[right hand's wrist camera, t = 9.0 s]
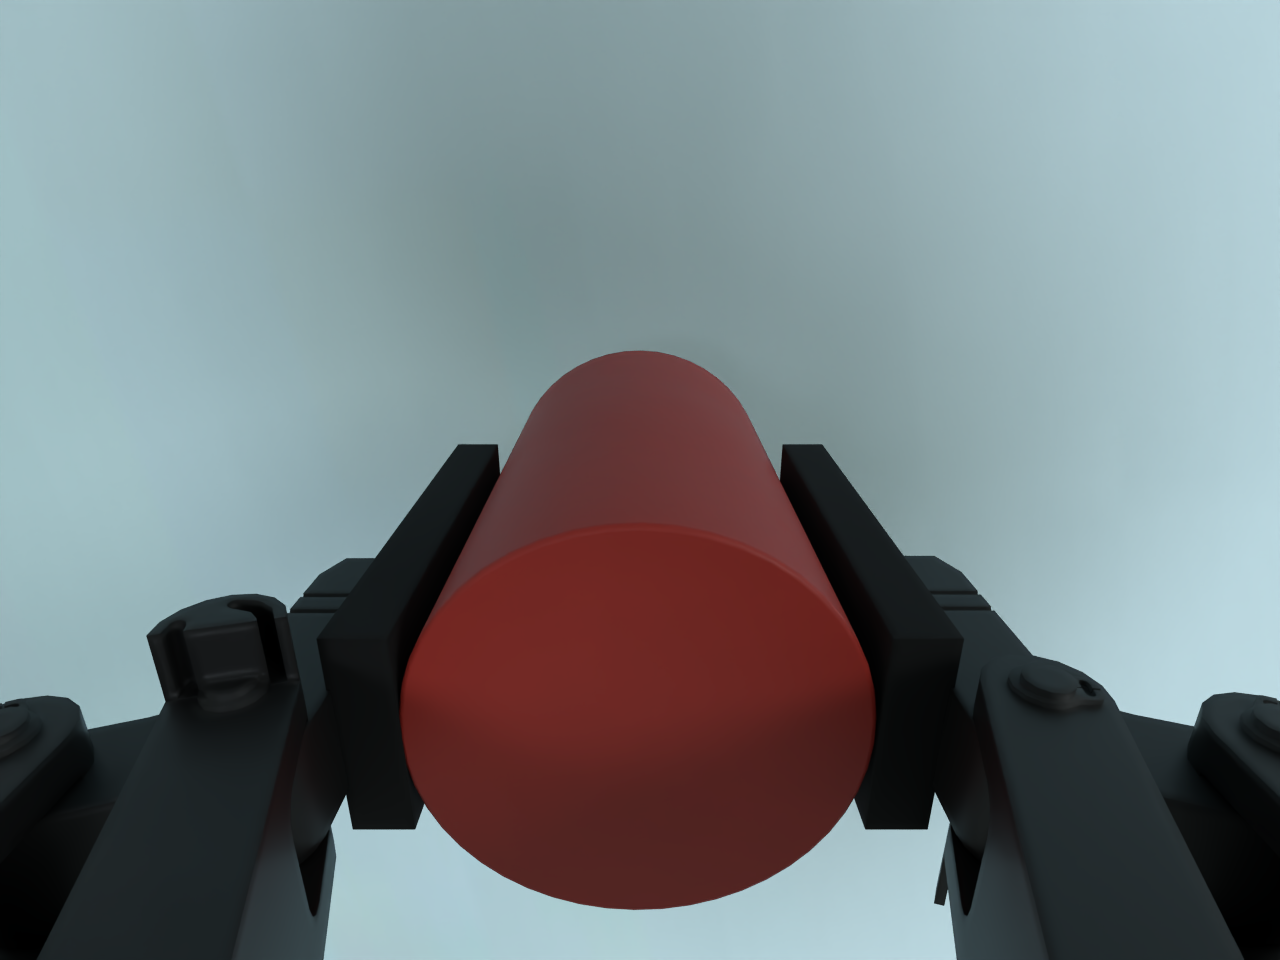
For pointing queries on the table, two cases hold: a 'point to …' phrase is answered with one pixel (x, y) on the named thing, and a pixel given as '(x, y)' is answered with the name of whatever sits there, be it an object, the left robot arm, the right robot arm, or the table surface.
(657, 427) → the canister
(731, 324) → the table surface
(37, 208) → the table surface
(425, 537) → the right robot arm
